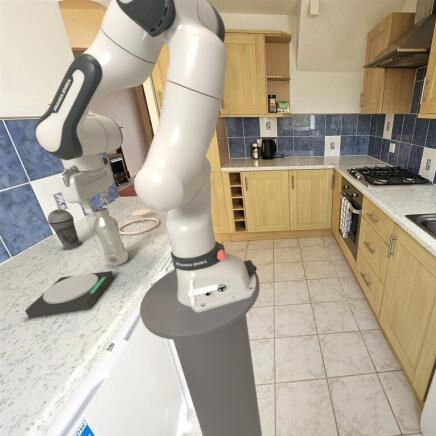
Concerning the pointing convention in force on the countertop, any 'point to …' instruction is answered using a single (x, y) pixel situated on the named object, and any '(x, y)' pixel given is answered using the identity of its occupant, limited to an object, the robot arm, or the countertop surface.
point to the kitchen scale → (71, 294)
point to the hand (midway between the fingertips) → (98, 207)
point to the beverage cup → (64, 227)
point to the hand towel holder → (141, 214)
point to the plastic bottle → (110, 237)
